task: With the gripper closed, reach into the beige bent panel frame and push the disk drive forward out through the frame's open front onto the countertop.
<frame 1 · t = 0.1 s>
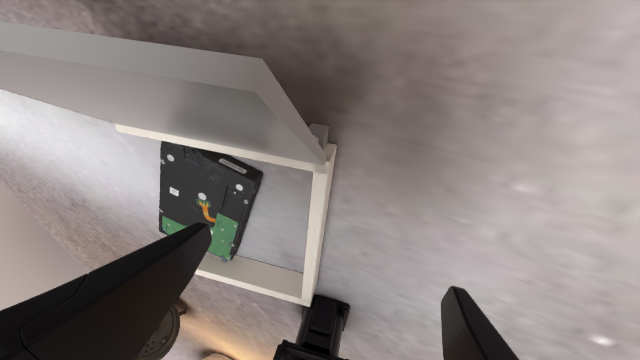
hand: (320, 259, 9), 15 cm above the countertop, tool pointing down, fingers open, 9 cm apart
beige bent panel frame: (210, 200, 30), on the countertop
alarm clock: (171, 293, 45), on the countertop
disk drive: (214, 196, 31), resting in beige bent panel frame
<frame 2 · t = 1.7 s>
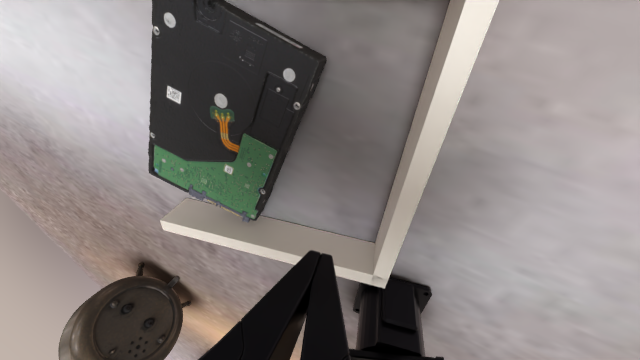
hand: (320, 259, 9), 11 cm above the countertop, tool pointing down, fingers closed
beige bent panel frame: (232, 122, 19), on the countertop
alarm clock: (171, 278, 35), on the countertop
disk drive: (235, 117, 20), resting in beige bent panel frame
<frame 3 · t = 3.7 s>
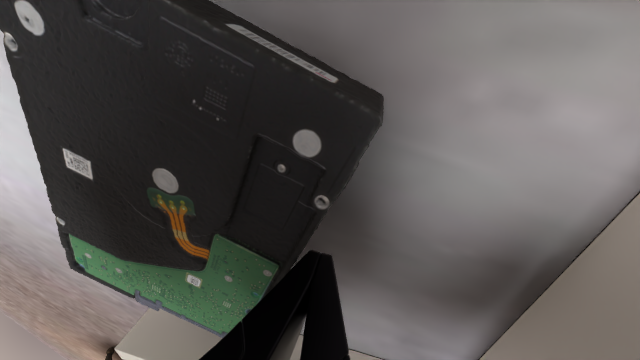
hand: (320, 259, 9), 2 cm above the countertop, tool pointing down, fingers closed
beige bent panel frame: (229, 208, 11), on the countertop
disk drive: (207, 185, 12), resting in beige bent panel frame
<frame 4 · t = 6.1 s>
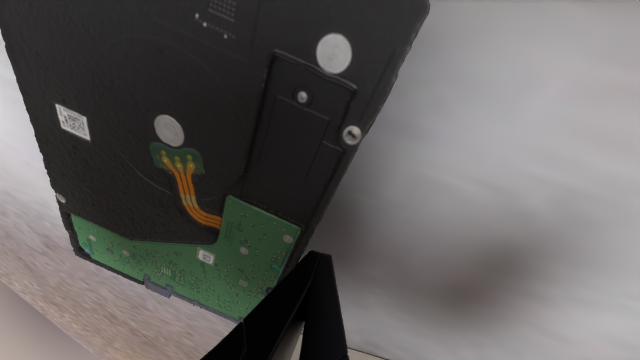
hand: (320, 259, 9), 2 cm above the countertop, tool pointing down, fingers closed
beige bent panel frame: (451, 260, 10), on the countertop
disk drive: (216, 154, 11), on the countertop
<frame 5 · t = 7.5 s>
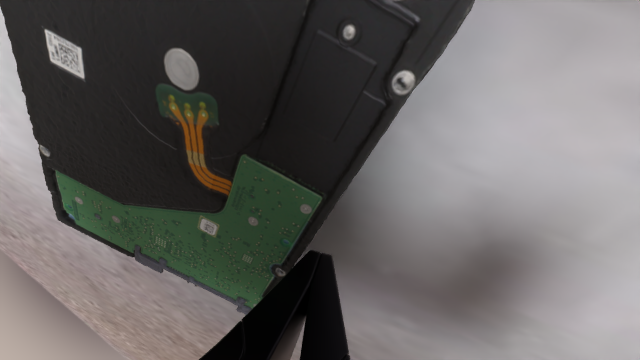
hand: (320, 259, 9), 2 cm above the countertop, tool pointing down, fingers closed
disk drive: (225, 115, 10), on the countertop, touching gripper
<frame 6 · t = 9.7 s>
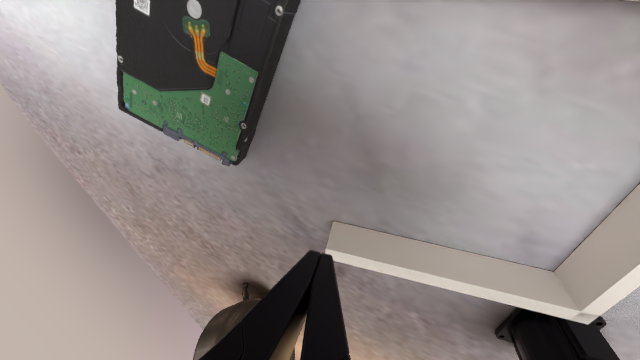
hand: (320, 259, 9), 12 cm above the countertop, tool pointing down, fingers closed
beige bent panel frame: (432, 146, 18), on the countertop
alarm clock: (273, 298, 33), on the countertop
disk drive: (214, 44, 18), on the countertop
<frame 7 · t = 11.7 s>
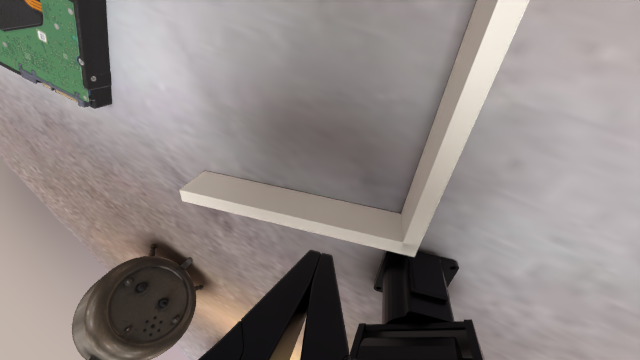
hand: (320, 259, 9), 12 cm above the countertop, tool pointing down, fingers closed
beige bent panel frame: (258, 83, 19), on the countertop
alarm clock: (184, 261, 34), on the countertop
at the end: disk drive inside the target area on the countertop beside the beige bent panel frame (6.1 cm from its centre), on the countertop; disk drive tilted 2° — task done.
